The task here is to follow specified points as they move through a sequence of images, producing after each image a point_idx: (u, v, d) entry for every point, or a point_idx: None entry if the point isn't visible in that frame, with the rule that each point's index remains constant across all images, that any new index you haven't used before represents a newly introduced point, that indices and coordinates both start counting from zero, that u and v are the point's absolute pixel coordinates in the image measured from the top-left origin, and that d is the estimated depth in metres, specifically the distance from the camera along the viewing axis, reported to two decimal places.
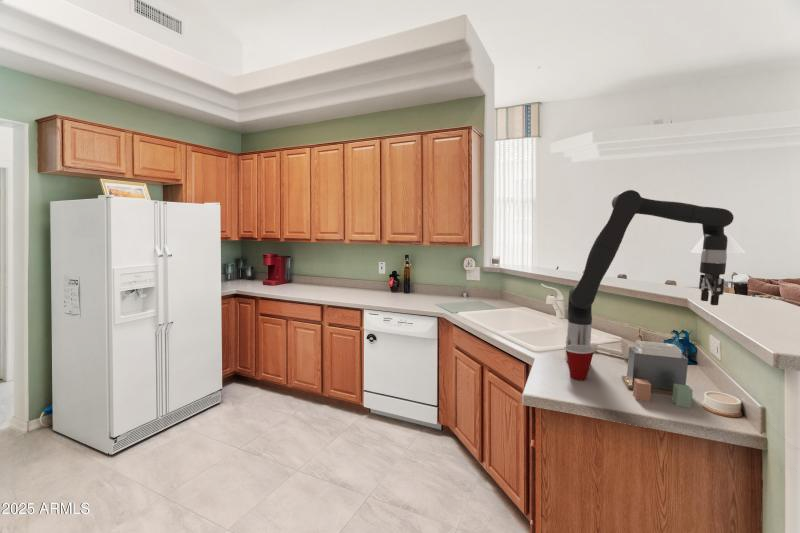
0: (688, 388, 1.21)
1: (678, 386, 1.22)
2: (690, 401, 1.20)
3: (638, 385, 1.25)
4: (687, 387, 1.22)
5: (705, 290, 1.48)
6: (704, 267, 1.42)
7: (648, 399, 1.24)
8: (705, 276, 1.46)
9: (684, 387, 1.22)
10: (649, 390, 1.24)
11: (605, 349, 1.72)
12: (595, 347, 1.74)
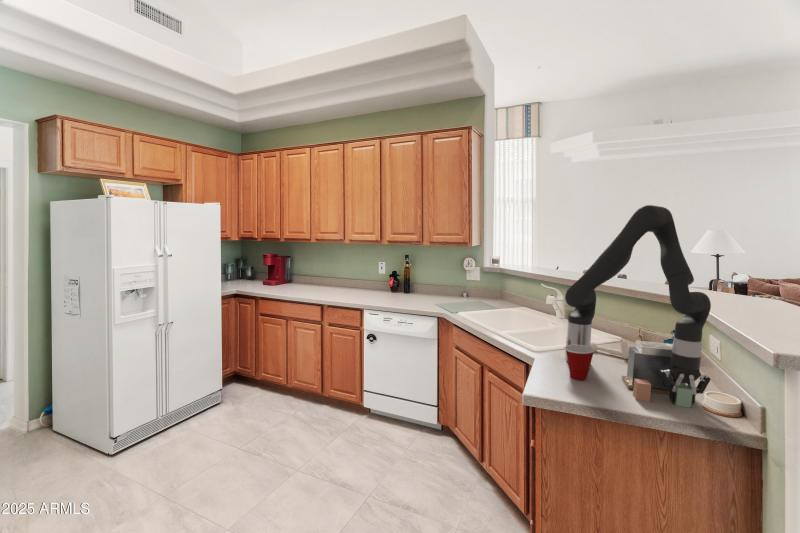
0: (688, 388, 1.21)
1: (678, 386, 1.22)
2: (690, 401, 1.20)
3: (638, 385, 1.25)
4: (687, 387, 1.22)
5: None
6: (696, 363, 1.18)
7: (648, 399, 1.24)
8: (677, 370, 1.21)
9: (684, 387, 1.22)
10: (649, 390, 1.24)
11: (605, 349, 1.72)
12: (595, 347, 1.75)
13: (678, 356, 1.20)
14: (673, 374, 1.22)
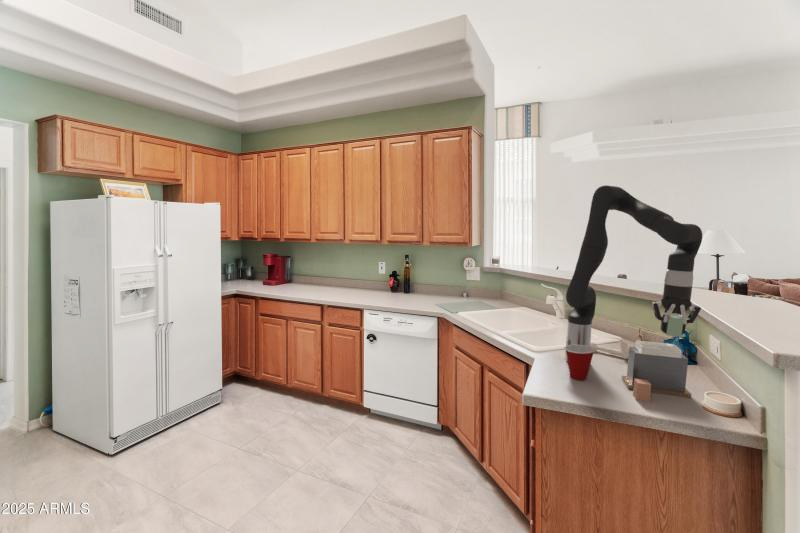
0: (679, 318, 1.25)
1: (669, 317, 1.26)
2: (680, 330, 1.24)
3: (638, 385, 1.25)
4: (678, 317, 1.26)
5: None
6: (687, 292, 1.21)
7: (648, 399, 1.24)
8: (668, 301, 1.25)
9: (675, 317, 1.25)
10: (649, 390, 1.24)
11: (605, 349, 1.72)
12: (595, 347, 1.75)
13: (670, 286, 1.23)
14: (665, 305, 1.26)
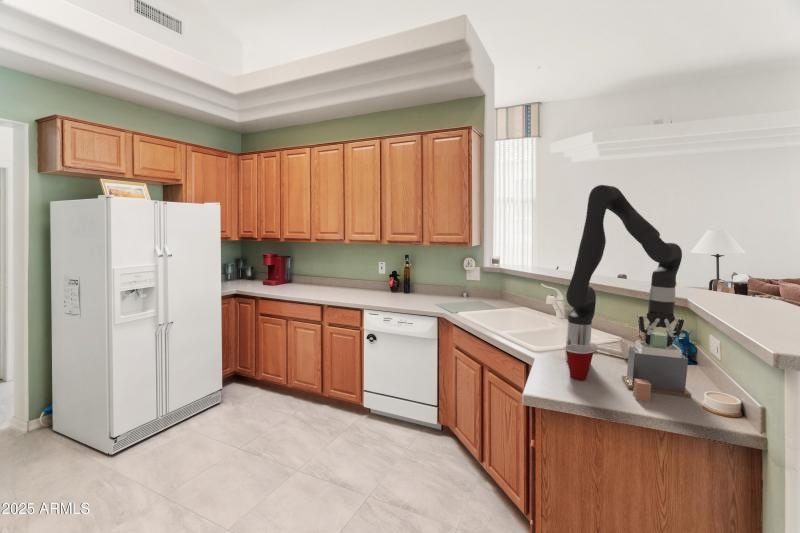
0: (663, 335, 1.32)
1: (654, 333, 1.34)
2: (665, 346, 1.31)
3: (638, 385, 1.25)
4: (663, 334, 1.33)
5: None
6: (670, 307, 1.29)
7: (648, 399, 1.24)
8: (653, 316, 1.33)
9: (660, 334, 1.33)
10: (649, 390, 1.24)
11: (604, 349, 1.72)
12: (594, 347, 1.75)
13: (654, 302, 1.31)
14: (650, 318, 1.33)
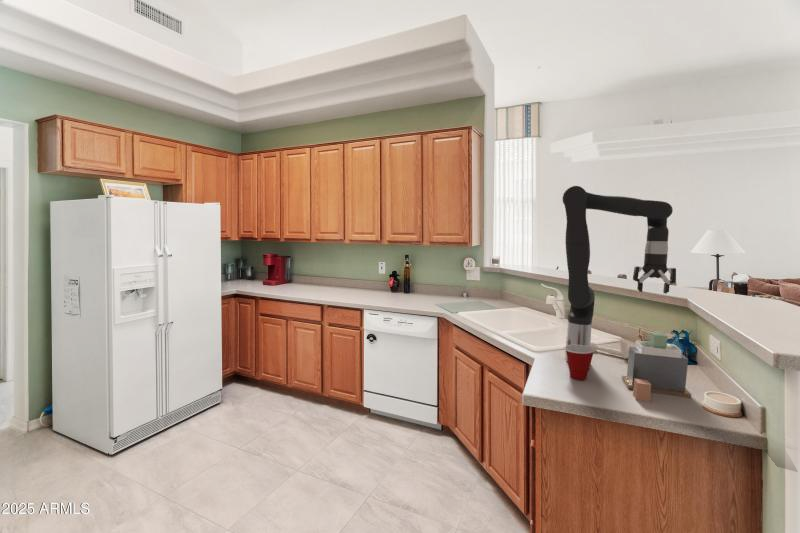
0: (663, 335, 1.32)
1: (654, 333, 1.34)
2: (665, 346, 1.31)
3: (638, 385, 1.25)
4: (663, 334, 1.33)
5: None
6: (663, 259, 1.45)
7: (648, 399, 1.24)
8: (648, 267, 1.49)
9: (660, 334, 1.33)
10: (649, 390, 1.24)
11: (604, 349, 1.72)
12: (594, 347, 1.75)
13: (649, 254, 1.47)
14: (646, 269, 1.49)
